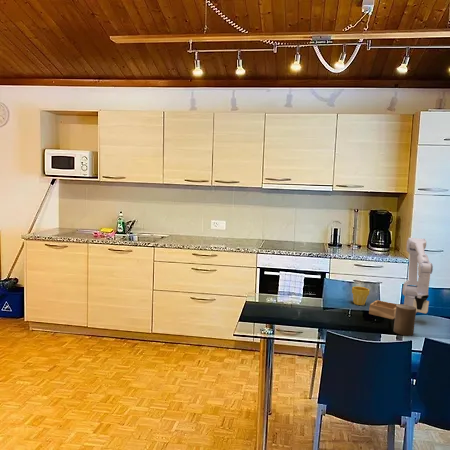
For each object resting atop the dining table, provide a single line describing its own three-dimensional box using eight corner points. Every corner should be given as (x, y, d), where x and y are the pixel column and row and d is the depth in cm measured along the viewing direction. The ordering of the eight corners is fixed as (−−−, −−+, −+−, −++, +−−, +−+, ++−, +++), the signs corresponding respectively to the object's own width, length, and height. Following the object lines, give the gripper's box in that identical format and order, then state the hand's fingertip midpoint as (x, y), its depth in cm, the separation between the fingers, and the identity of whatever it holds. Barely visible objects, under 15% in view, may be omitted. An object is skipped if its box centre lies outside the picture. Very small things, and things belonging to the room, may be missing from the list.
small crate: (414, 308, 263) (415, 298, 262) (427, 311, 259) (428, 301, 258) (412, 310, 259) (413, 300, 258) (425, 313, 255) (427, 302, 254)
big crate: (375, 308, 279) (376, 300, 279) (399, 314, 272) (400, 305, 271) (368, 313, 268) (369, 304, 268) (392, 319, 261) (394, 309, 260)
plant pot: (369, 303, 290) (371, 288, 289) (365, 307, 281) (367, 291, 280) (353, 300, 295) (354, 285, 294) (348, 303, 286) (350, 288, 285)
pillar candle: (413, 337, 233) (417, 308, 231) (392, 333, 236) (396, 304, 235) (413, 331, 242) (416, 303, 240) (393, 328, 245) (396, 300, 244)
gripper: (418, 280, 265) (415, 304, 267) (412, 285, 253) (409, 309, 255) (431, 283, 261) (428, 306, 263) (426, 287, 249) (423, 312, 251)
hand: (420, 308), depth 259 cm, fingers closed on small crate, 5 cm apart
